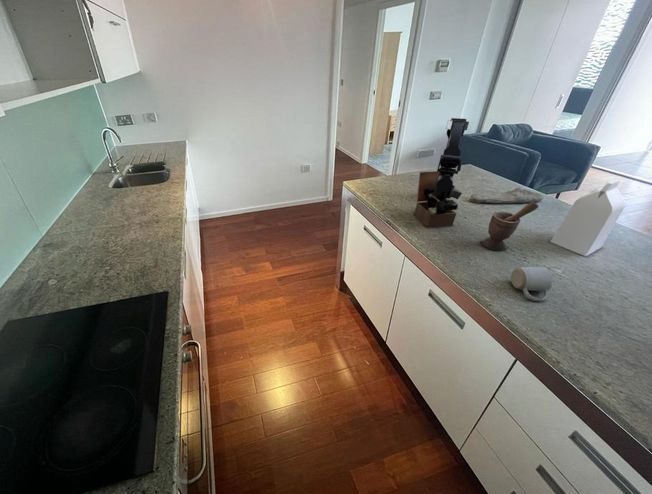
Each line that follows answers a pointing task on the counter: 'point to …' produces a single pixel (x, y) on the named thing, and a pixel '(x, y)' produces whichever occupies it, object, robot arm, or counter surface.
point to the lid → (426, 183)
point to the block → (432, 210)
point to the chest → (434, 216)
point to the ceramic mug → (532, 280)
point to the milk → (590, 220)
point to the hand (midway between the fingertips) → (434, 215)
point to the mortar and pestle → (505, 226)
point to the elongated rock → (507, 197)
